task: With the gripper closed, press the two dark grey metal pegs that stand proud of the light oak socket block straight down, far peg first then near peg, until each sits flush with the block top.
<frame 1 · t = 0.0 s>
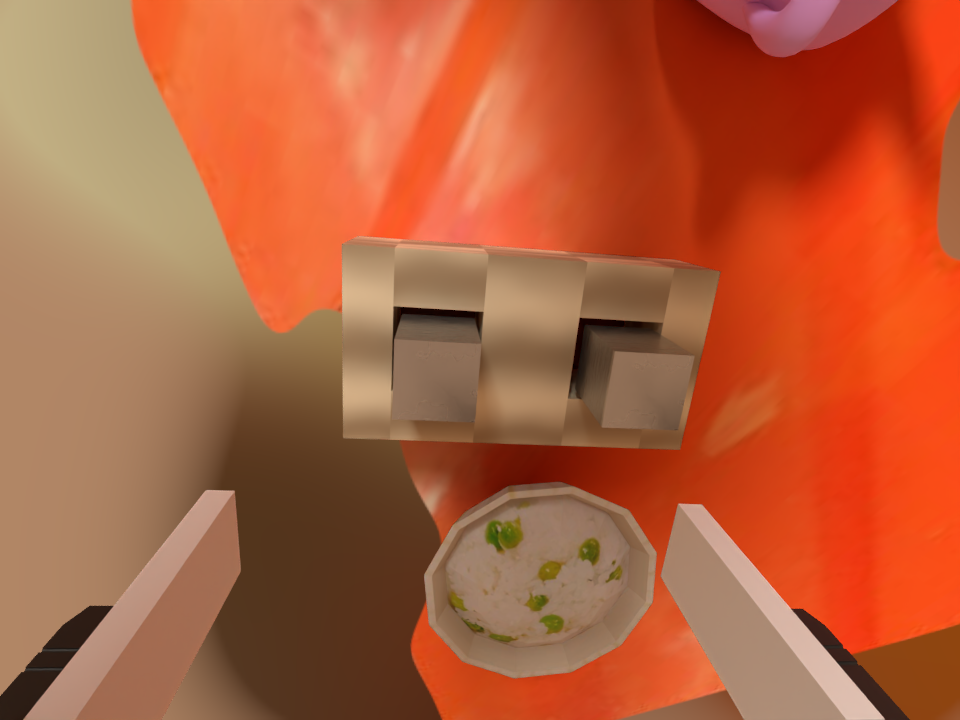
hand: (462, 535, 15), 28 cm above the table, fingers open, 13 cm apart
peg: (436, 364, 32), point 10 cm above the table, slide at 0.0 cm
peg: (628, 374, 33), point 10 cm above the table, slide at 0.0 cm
socket block: (513, 331, 42), on the table
bowl: (523, 519, 48), on the table
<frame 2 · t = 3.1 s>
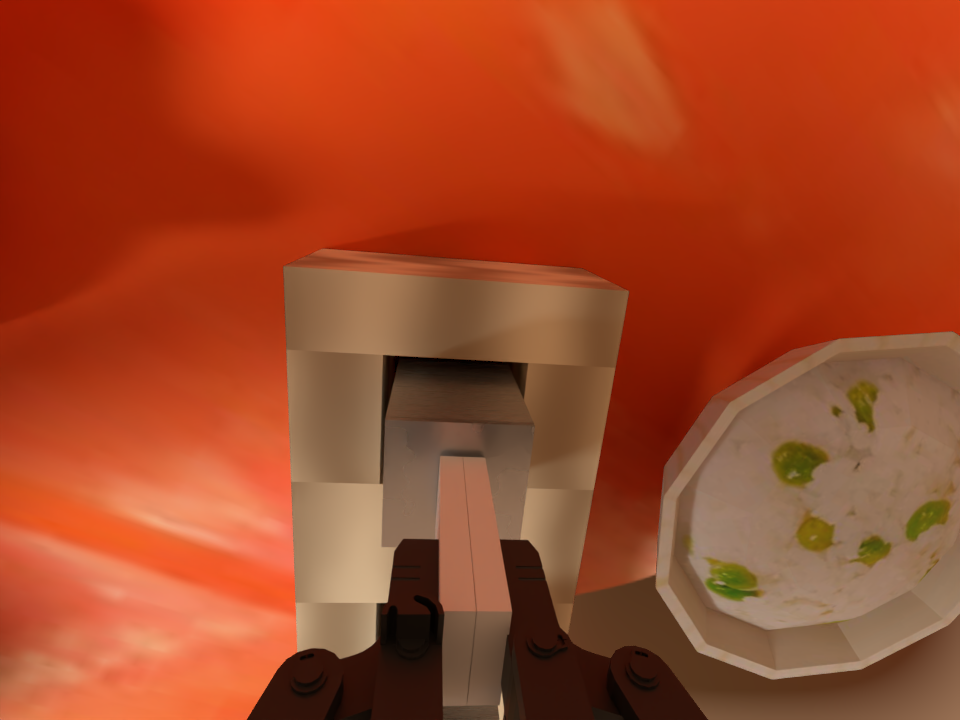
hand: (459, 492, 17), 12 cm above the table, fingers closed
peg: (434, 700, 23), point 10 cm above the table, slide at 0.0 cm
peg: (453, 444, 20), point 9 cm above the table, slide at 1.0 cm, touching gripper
socket block: (441, 471, 30), on the table
bowl: (739, 437, 32), on the table
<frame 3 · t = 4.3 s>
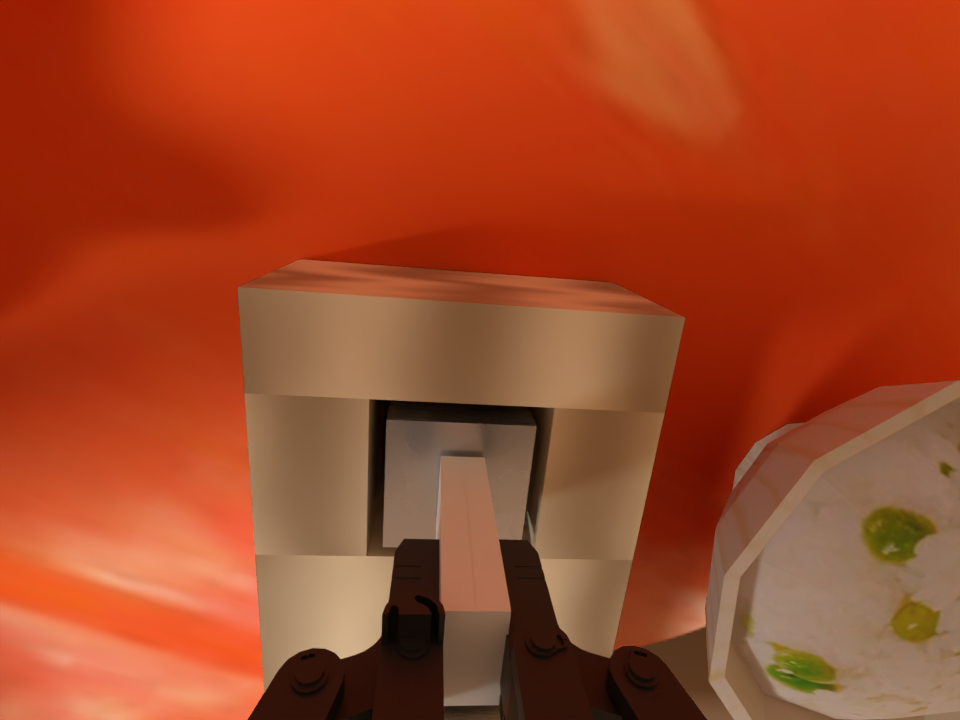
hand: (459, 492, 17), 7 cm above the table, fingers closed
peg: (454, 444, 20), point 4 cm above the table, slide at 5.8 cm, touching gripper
socket block: (443, 518, 26), on the table
bowl: (791, 477, 27), on the table
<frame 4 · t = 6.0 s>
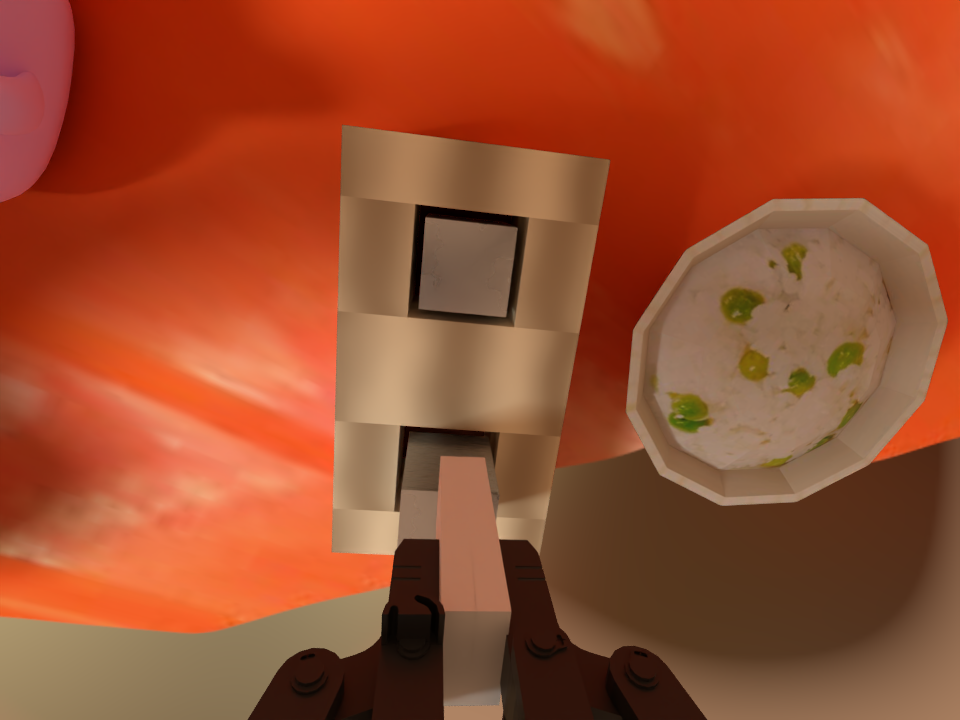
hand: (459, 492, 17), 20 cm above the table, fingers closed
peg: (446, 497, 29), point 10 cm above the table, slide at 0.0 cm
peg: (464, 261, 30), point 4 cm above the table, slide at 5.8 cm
socket block: (453, 344, 36), on the table
bowl: (707, 327, 37), on the table
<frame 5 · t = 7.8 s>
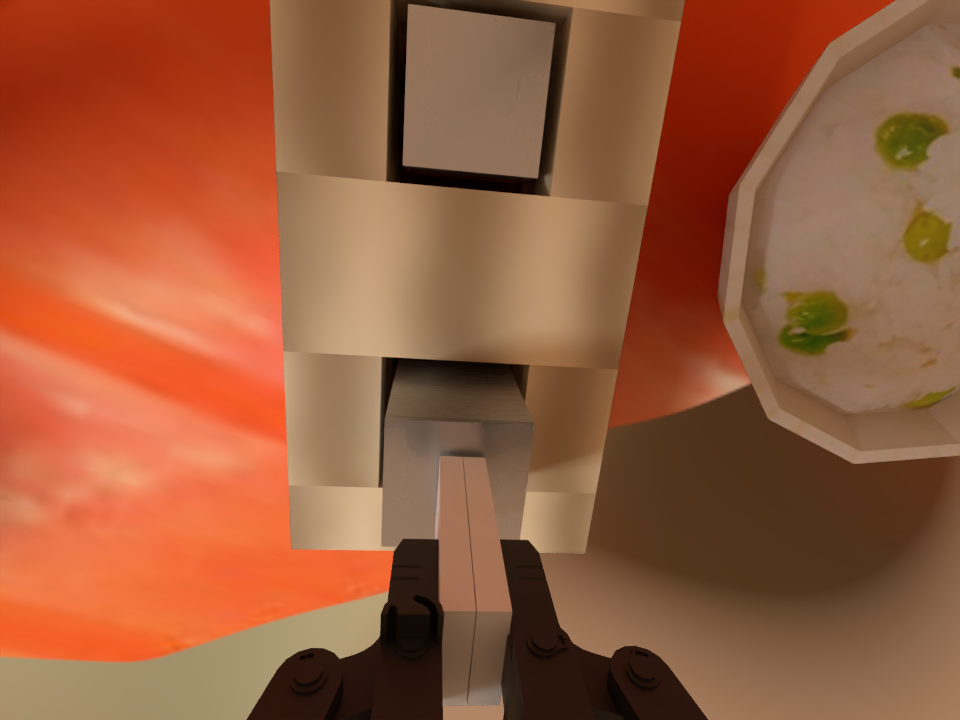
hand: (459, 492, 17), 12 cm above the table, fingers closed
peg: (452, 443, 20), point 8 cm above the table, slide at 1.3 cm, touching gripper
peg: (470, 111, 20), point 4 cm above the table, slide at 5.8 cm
socket block: (456, 258, 26), on the table
bowl: (799, 229, 27), on the table
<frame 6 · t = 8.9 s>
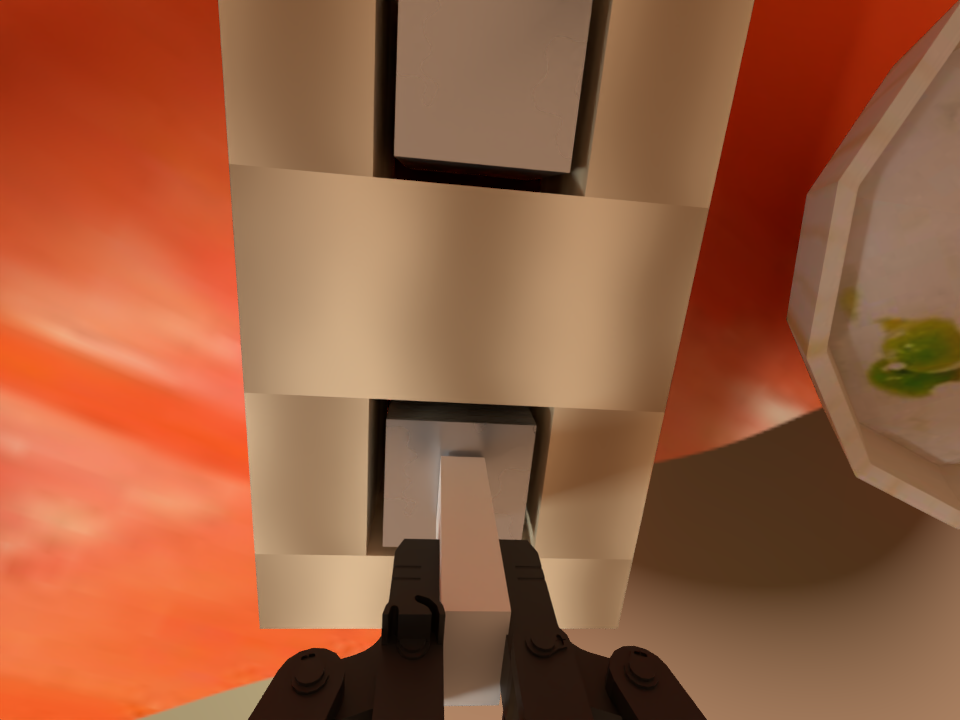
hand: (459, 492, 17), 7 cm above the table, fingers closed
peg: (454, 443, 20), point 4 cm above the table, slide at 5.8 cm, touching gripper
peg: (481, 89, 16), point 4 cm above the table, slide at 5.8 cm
socket block: (461, 270, 22), on the table
bowl: (868, 235, 23), on the table
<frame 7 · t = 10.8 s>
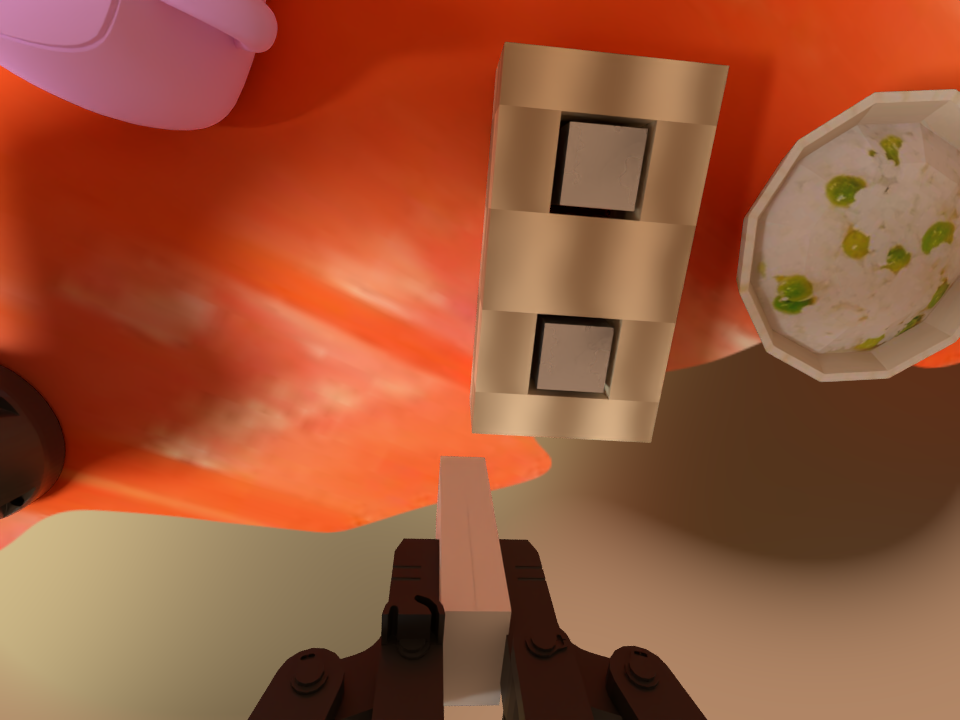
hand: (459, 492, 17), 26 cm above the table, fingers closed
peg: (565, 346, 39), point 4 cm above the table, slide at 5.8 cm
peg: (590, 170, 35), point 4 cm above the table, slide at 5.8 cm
socket block: (566, 257, 41), on the table
bowl: (793, 237, 41), on the table
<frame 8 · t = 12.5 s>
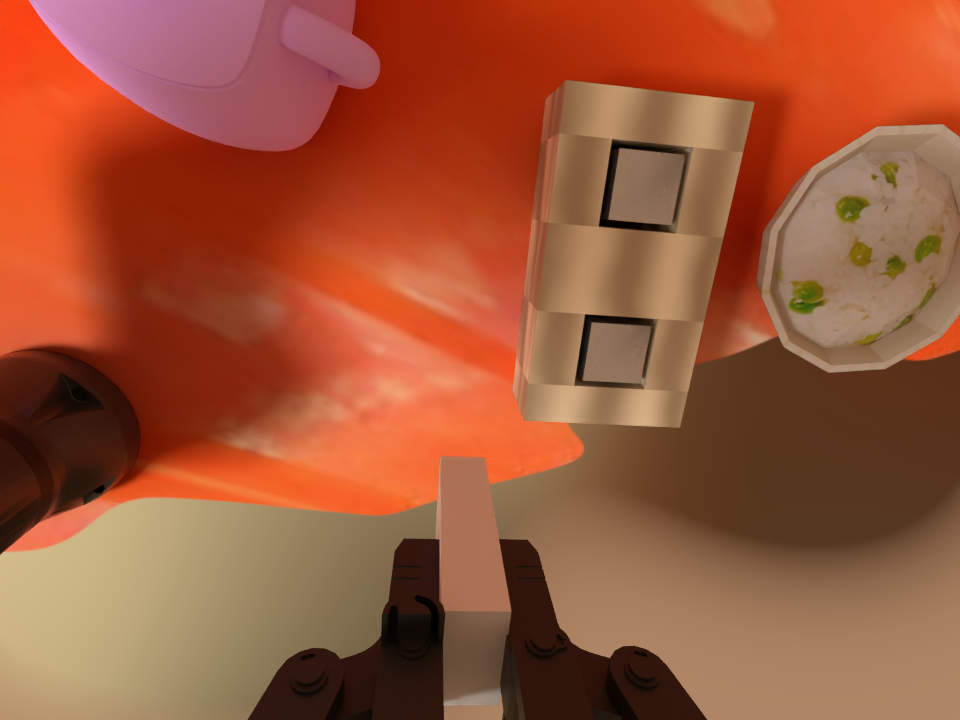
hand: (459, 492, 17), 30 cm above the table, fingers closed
teapot: (243, 21, 38), on the table
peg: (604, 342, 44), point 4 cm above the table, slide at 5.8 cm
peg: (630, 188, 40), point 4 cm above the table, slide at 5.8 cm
socket block: (602, 263, 46), on the table
bowl: (800, 246, 47), on the table
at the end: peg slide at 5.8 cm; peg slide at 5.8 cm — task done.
